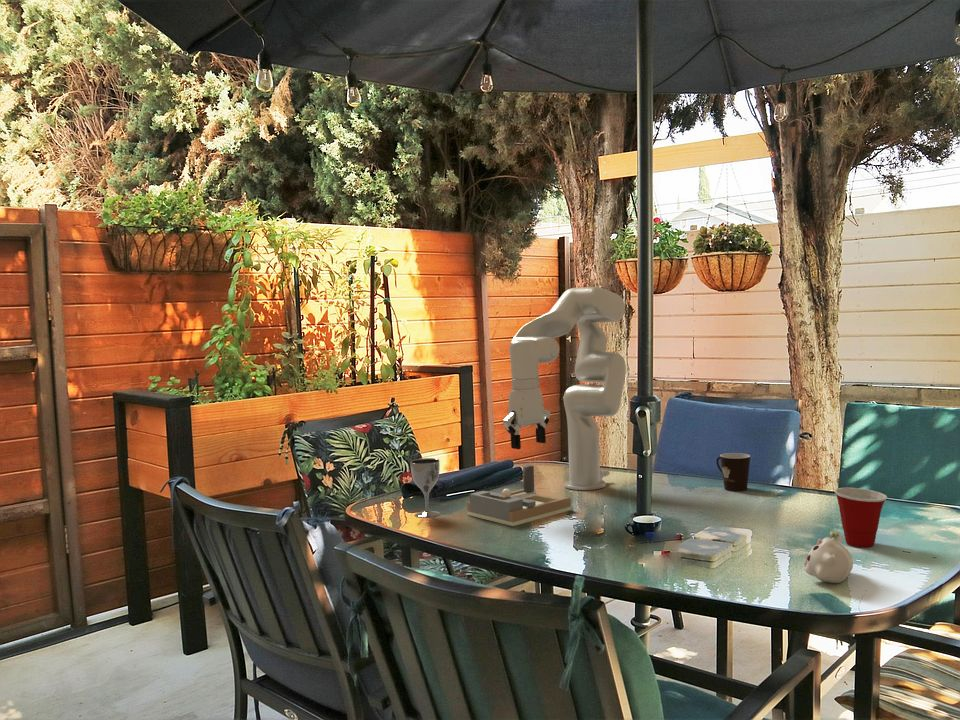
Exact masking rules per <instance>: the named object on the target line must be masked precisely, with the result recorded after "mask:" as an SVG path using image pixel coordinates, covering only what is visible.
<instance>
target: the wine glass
mask: <svg viewBox="0 0 960 720" xmlns="http://www.w3.org/2000/svg"><path fill="white" fill-rule="evenodd" d="M440 466H441V463H440V459H438V458H433V457H430V458H428V457H427V458H417V459H412V460H411V461H410V472H411V476H412V477H411V478H412V480H413V482H414V483H415V485H416V486H417V487H418V488H419V489H420V490H421V492H422V493H423V497H424V502H425V503H424V504H425V510H423V511H418V512H416V513H414V517H416V518H420V519H423V518H424V519H429V518H430V519H431V518H436V517H439V516H440V515H441V512H440V511H436V510H435V511H434V510H430V508H429V497H430V492H431V491H432V490H433V488H434V486H435V485H436V484H437V483H438V479H439V477H440Z"/></svg>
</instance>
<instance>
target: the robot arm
mask: <svg viewBox="0 0 960 720" xmlns="http://www.w3.org/2000/svg"><path fill="white" fill-rule="evenodd" d="M625 312H626V305H625V301H624V299H623V297H622V296H621V295H619V294H617V293H616V292H613V291H610V290H609V289H606V288H603V287H601V286H600V287H599V286H580V287H572V288H571V287H570V288H569V289H566V290H565V291H564V292H562V294H561V296H560V297H559V298H558V299H557V301H556V302H555V303H554V304H553V306H552V307H551V308H550V310H549V311H548V312H547V313H545V314H542V315H540V316H538V317H537V318H534V319H533V320H531V321H529V322H528V323H527V322H526V324H524V325H523V326H521V328H519V330H518V331H517V333H516V334H515V335H514V336H513V338H512V339H511V341H510V344H509V347H508V348H509V349H508V353H509V356H510V357H509V358H510V359H509V361H510V374H511V376H510V377H511V390H510V391H509V394H508V395H509V396H508V408H507V409H508V410H507V412H508V413H507V416H506V417H505V418H504V419H503V420H502V423H503V426H504V427H505V428H504V429H505V430H506V431H507V432H508V434H509V435H510V446H511V448H510V449H512V450H513V449H514V450H521V448H522V446H521V445H522V444H521V443H522V442H521V434H519V433H520V430H521V428H525V427H529V426H534V425H535V426H536V428H535V439H536V440H535V441H536V443H541V444H546V443H547V441H546V439H547V435H546V429H547V427H548V423H549V422H550V416H551V411H550V410H548V409H547V408H545V407H544V406H545V405H544V400H543V394H542V390H541V387H540V383H541V379H540V377H539V364H551V363H553V362H554V361H555V360H556V359H557V358H558V356H559V355H560V345H559V343H558V341H557V340H556V338H560V337H563V336H565V335H566V334H569V333H570V332H571V331H572V330H573V328H574V327H575V325H576V326H577V329H578V332H579V333H578V334H579V345H578V350H577V354H576V360H575V365H574V375H575V378H576V379H577V380H578V381H580V382H582V383H594V384H574V385H571V386H569V387H568V388H567V389H566V390H565V391H564V393H563V407H564V410H565V414H566V422H567V423H566V424H567V439H568V440H567V442H568V444H567V445H568V470H569V471H568V472H569V473H568V476H569V479H568V480H565V482H564V487H565V488H566V489H570V490H577V491H578V490H579V491H592V490H593V491H594V490H598V489H602V488H605V487H606V481H605V480H603V478H605V477H608V476H610V473H611V472H610V471H609V470H608V469H604V470H602V469H601V459H600V457H601V456H600V431H599V427H598V424H597V422H596V420H595V419H594V417H604V418H605V417H606V418H607V417H614V416H616V415H617V413H618V412H619V410H620V406H621V403H622V402H621V401H622V396H623V393H624V391H623V390H624V385H625V380H626V374H627V366H626V365H627V364H626V361H625V358H624V357H623V356H622V355H621V353H618V352H614V351H607V343H608V338H607V335H606V334H605V332H604V330H603V329H602V327H601V326H600V324H599V323H615V322H616V323H617V322H619V321H621V320H622V319H623V317H624V316H625ZM596 383H598V384H596ZM599 383H601V384H599Z"/></svg>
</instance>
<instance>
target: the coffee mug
mask: <svg viewBox="0 0 960 720" xmlns="http://www.w3.org/2000/svg"><path fill="white" fill-rule="evenodd" d="M719 462H720V464H719ZM750 464H751V454H747V453H740V452H731V453H730V452H728V453H727V452H726V453H722V454H720V455H719V456H718V457H717V458H716V466H717V468H718V470H719V471H720V472H721V474H722V480H723V487H724V490H725V491H728V492H736V493H737V492H746V491H747V490H748V484H749V483H748V482H749V473H750Z"/></svg>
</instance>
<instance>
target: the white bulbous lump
mask: <svg viewBox="0 0 960 720" xmlns="http://www.w3.org/2000/svg"><path fill="white" fill-rule="evenodd" d="M829 536H830V537H829ZM829 536H827V537H824V538H823V539H822V538H819V539H818V540H817V542H816V544H815V545H813V547H811V549H810V550H809V552H808V554H807V557H806V559H805V560H804V571H805V573H806V574H807V575H809V576H811V577H815V578H816V579H818V580H819V581H822V582H825V583H831V584H839V583H841V582H843V581H845V580H846V579H847V578H848V576H850V574H851V571H852V569H853V568H854V558H853V557H852V554H851V553H850V551H849V550H848V549H847V548H846V546H844V545H842V541H843V536H842V534H840V533H839V532H838V531H833V530H831V531H830V532H829Z"/></svg>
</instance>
